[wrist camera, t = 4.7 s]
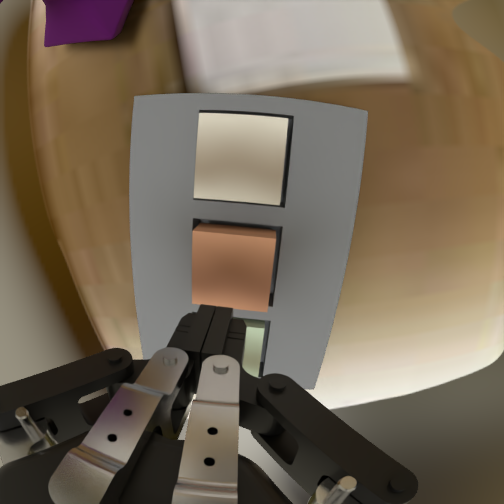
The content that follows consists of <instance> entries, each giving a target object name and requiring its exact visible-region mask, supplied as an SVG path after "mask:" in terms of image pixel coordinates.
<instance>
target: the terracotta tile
mask: <svg viewBox="0 0 504 504" xmlns="http://www.w3.org/2000/svg"><path fill="white" fill-rule="evenodd" d="M275 245H276V230H271V229H262V228H251V227H241V226H230V225H220V224H208V223H200V224H199V225H198V226H197V227H196V228H195V229H194V230H193V233H192V304H199V305H201V304H205V305H213V306H222V307H230V308H233V309H240V310H250V311H259V312H267V311H268V303H269V295H270V287H271V279H272V271H273V262H274V254H275Z"/></svg>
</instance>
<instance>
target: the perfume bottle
mask: <svg viewBox="0 0 504 504" xmlns="http://www.w3.org/2000/svg"><path fill="white" fill-rule="evenodd" d="M2 1H3V0H0V3H1V2H2ZM133 1H134V0H43V2H44V3H45V5H46V27H45V40H44V46H45V47H51V46H57V45H63V44H71V43H79V42H89V41H101V40H111V39H113V38H114V37H116V36H117V35H118V34H120V33H121V31H122V28H123V26H124V23H125V21H126V18H127V15H128V13H129V11H130V8H131V6H132V3H133Z"/></svg>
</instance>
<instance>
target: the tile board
mask: <svg viewBox="0 0 504 504" xmlns="http://www.w3.org/2000/svg"><path fill="white" fill-rule="evenodd" d="M199 113H222V114H243V115H257V116H269V117H280V118H288V128H287V139H286V150H285V160H284V170H283V180H282V190H281V199H280V205H271V204H261V203H251V202H239V201H228V200H215V199H202V198H194V180H195V162H196V147H197V133H198V121H199ZM367 118H368V111H365V110H361V109H356V108H351V107H345V106H340V105H334V104H328V103H322V102H316V101H309V100H301V99H293V98H284V97H274V96H262V95H248V94H225V93H179V94H157V95H143V96H134V106H133V117H132V131H131V148H130V184H129V203H130V238H131V256H132V270H133V282H134V293H135V302H136V311H137V319H138V326H139V333H140V340H141V347H142V353H143V359H144V360H145V359H151V358H152V356H153V355H154V353H155V352H156V351H158V350H160V349H163V348H166V347H167V345H168V343H169V341H170V339H171V337H172V335H173V333H174V331H175V329H176V327H177V326H178V323H179V321H180V320H181V318H182V317H183V316H185V315H186V314H188V313H194V314H196V313H197V311H198V309H199V307H200V305H199V304H192V233H193V230H194V229H195V228H196V227H197V226H198V225H199V224H200V223H208V224H220V225H230V226H241V227H251V228H262V229H271V230H276V245H275V254H274V262H273V271H272V279H271V287H270V295H269V303H268V311H267V312H259V311H250V310H240V309H233V317H238V318H248V319H257V320H265V329H264V337H263V344H262V352H261V359H260V367H259V374H258V378H261V377H263V376H265V375H267V374H271V373H278V374H283V375H286V376H288V377H290V378H291V379H293V380H294V381H295V382H296V383H297V384H299V385H300V386H301V387H302V388H303V389H314V388H315V385H316V381H317V378H318V375H319V372H320V368H321V365H322V361H323V358H324V355H325V351H326V347H327V344H328V340H329V337H330V333H331V329H332V325H333V321H334V317H335V313H336V309H337V305H338V301H339V297H340V292H341V288H342V284H343V279H344V274H345V270H346V265H347V260H348V255H349V250H350V245H351V239H352V234H353V228H354V222H355V216H356V210H357V204H358V197H359V190H360V183H361V176H362V168H363V159H364V150H365V141H366V130H367Z"/></svg>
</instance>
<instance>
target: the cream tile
mask: <svg viewBox="0 0 504 504" xmlns="http://www.w3.org/2000/svg"><path fill="white" fill-rule="evenodd" d="M287 128H288V118H280V117H269V116H257V115H243V114H222V113H199V121H198V133H197V147H196V162H195V180H194V198H202V199H215V200H228V201H239V202H251V203H261V204H271V205H280V199H281V190H282V180H283V170H284V160H285V150H286V139H287Z"/></svg>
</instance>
